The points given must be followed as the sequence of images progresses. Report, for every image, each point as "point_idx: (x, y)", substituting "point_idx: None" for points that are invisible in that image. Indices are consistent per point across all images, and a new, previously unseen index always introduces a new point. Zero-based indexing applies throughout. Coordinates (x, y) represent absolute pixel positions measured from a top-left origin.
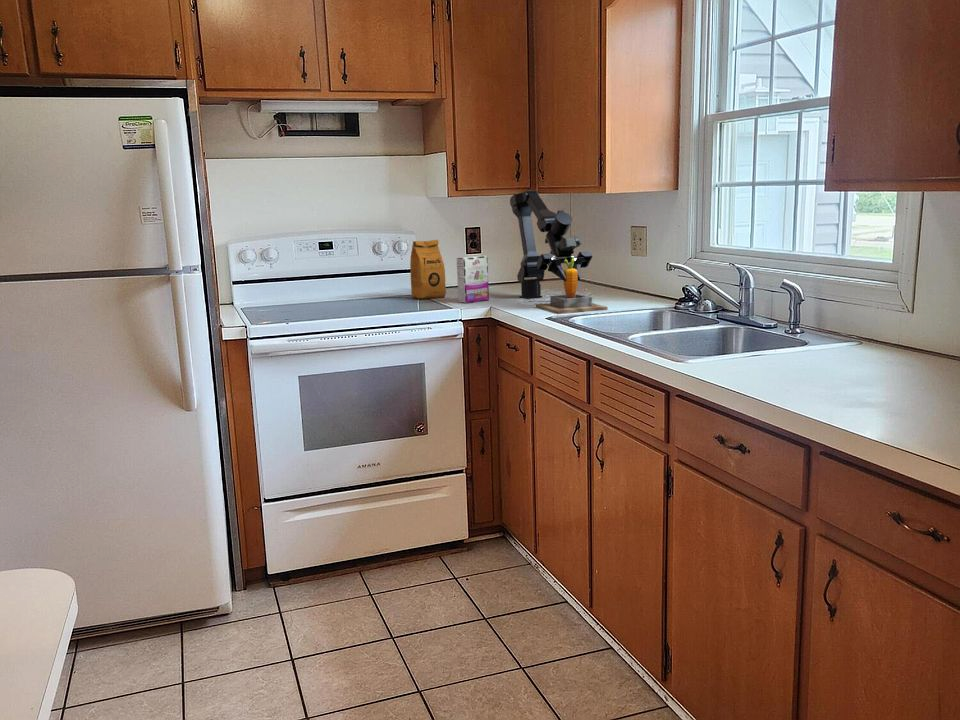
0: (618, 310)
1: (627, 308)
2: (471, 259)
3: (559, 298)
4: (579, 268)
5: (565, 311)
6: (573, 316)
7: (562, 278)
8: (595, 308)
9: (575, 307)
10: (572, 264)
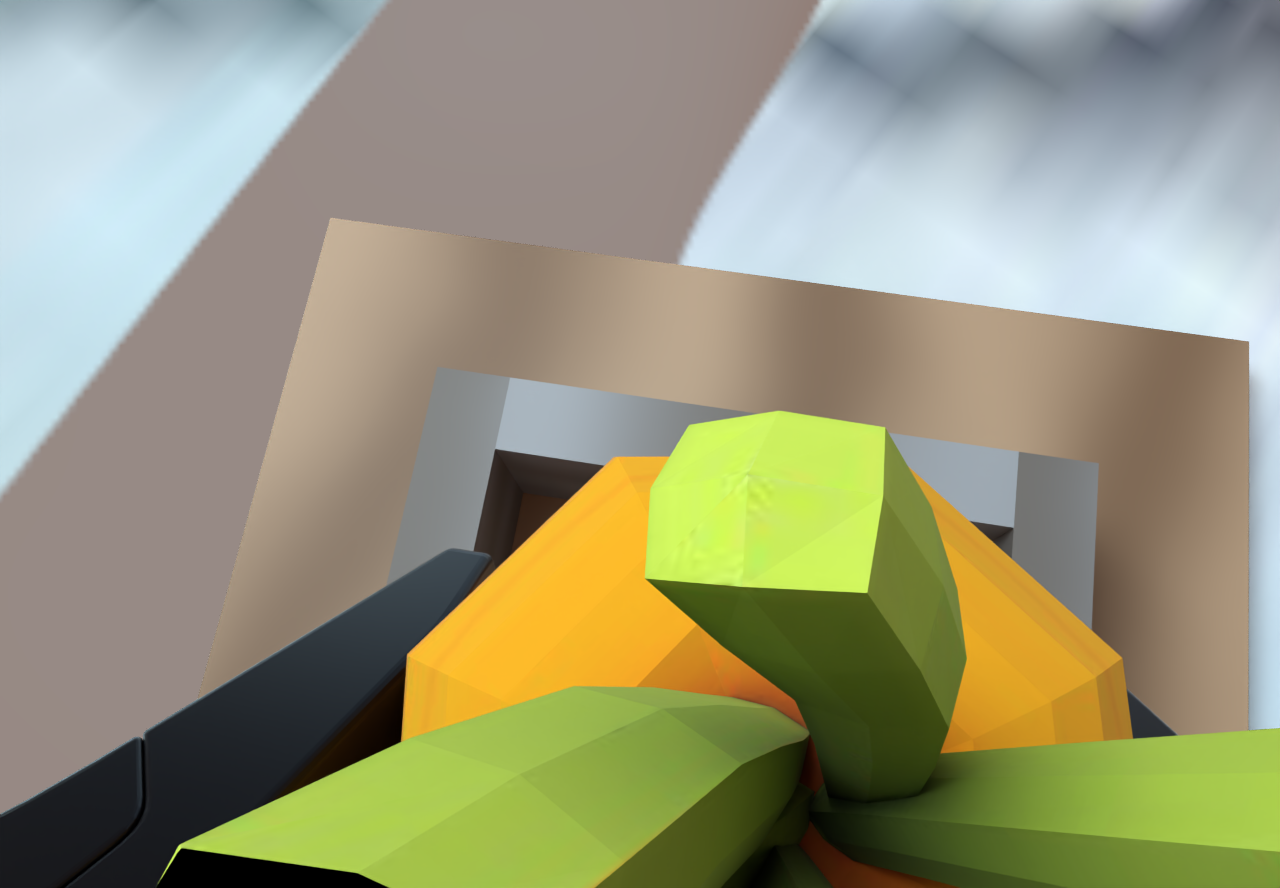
0: (275, 106)
1: (36, 175)
2: None
3: None
4: (118, 783)
5: (1104, 332)
6: (1139, 49)
7: None
8: (550, 252)
9: None
10: (699, 704)
